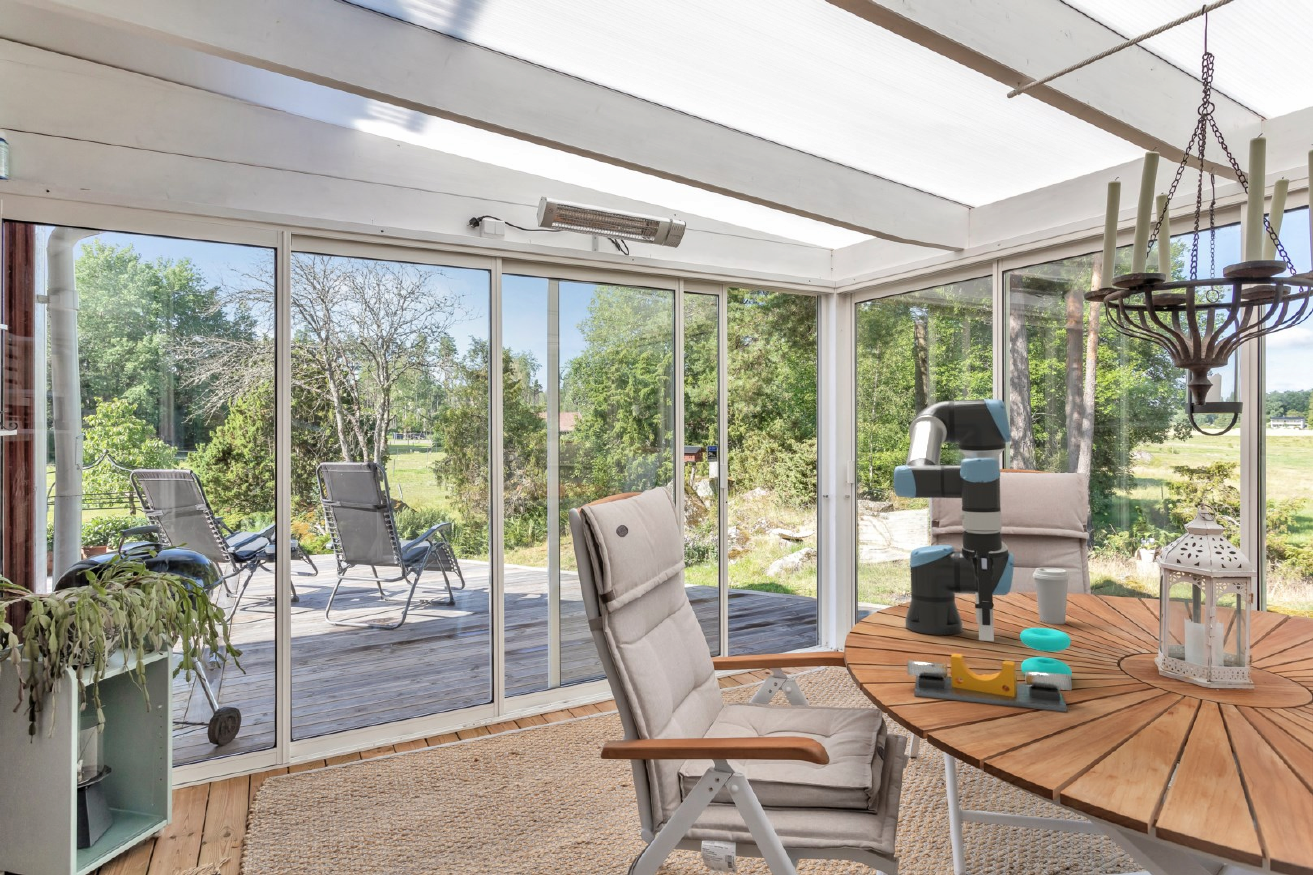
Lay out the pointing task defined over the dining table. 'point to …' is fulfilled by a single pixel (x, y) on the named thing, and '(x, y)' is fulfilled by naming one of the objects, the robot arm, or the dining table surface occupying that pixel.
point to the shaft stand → (1033, 694)
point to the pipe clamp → (984, 678)
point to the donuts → (1045, 642)
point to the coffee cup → (1051, 594)
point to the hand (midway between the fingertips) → (984, 631)
